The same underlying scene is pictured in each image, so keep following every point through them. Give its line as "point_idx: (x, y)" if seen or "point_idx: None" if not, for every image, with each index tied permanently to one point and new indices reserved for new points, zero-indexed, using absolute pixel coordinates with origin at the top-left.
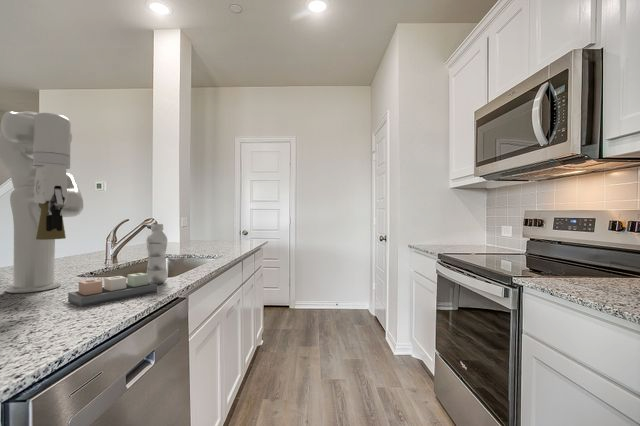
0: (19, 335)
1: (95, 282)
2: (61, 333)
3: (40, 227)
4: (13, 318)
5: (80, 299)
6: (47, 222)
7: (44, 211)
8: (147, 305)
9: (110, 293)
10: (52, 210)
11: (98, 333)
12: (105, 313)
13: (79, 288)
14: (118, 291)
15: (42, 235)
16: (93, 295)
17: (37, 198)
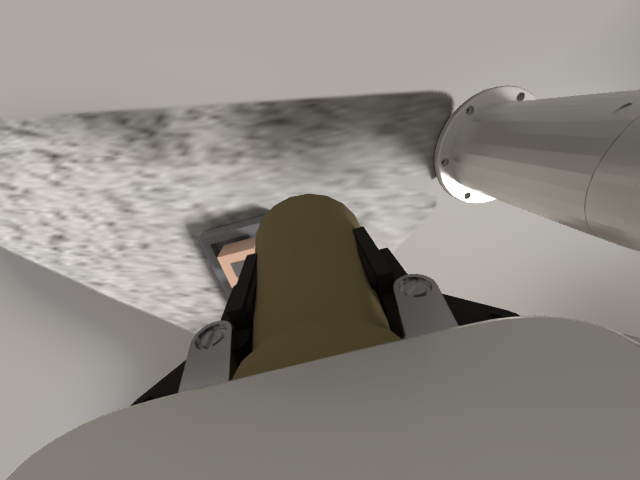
0: (38, 137)
1: (226, 275)
2: (27, 199)
3: (276, 235)
4: (182, 120)
5: (202, 236)
6: (238, 283)
7: (269, 322)
8: (168, 317)
9: (221, 284)
10: (179, 379)
11: (8, 246)
12: (141, 262)
13: (251, 242)
14: (227, 296)
15: (263, 226)
16: (213, 258)
17: (334, 424)
